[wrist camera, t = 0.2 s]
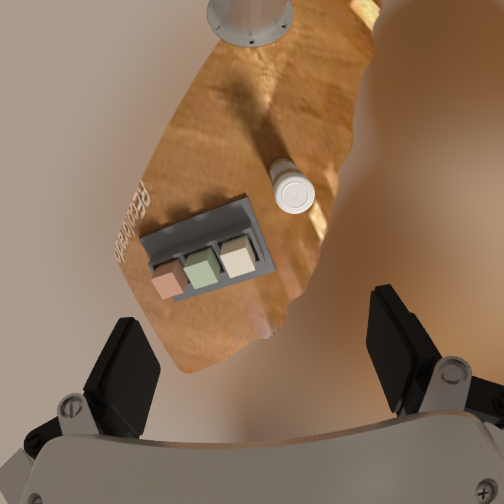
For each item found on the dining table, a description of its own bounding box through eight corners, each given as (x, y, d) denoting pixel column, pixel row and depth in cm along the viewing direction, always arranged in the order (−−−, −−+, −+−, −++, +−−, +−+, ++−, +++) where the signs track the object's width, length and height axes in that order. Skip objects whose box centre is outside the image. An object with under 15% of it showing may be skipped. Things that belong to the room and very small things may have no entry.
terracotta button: (158, 265, 48) (150, 279, 44) (178, 258, 47) (171, 272, 43) (168, 284, 50) (162, 299, 46) (188, 277, 49) (183, 292, 45)
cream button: (222, 242, 46) (219, 256, 42) (246, 234, 46) (245, 247, 42) (232, 263, 48) (230, 278, 44) (255, 256, 47) (255, 270, 43)
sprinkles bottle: (270, 188, 45) (278, 217, 33) (265, 159, 43) (271, 178, 31) (299, 183, 45) (317, 211, 33) (295, 155, 43) (312, 172, 31)
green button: (188, 254, 47) (183, 268, 43) (210, 246, 46) (207, 260, 42) (199, 274, 49) (194, 289, 45) (220, 267, 48) (218, 282, 44)
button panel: (140, 237, 49) (133, 246, 45) (247, 196, 46) (246, 203, 42) (175, 300, 55) (171, 311, 51) (275, 269, 51) (277, 280, 48)
